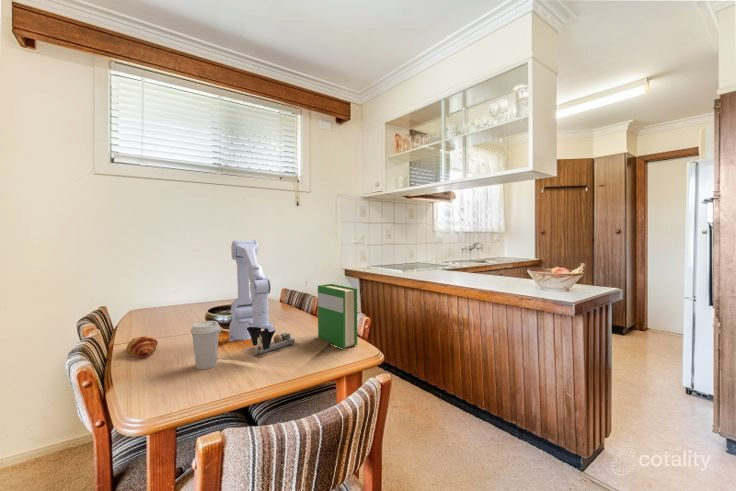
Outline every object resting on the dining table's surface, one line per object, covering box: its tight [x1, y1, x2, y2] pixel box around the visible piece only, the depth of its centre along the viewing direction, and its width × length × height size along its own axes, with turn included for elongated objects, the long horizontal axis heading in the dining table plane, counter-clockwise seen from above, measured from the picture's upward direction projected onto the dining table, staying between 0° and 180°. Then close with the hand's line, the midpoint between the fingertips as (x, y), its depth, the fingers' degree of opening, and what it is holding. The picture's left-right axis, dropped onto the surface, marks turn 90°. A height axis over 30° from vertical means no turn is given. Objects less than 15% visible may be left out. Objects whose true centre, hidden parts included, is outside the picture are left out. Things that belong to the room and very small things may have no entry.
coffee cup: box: [189, 320, 221, 370], centre depth 116 cm, size 10×10×15 cm
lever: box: [256, 335, 296, 354], centre depth 129 cm, size 16×2×6 cm, turn 139°
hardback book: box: [317, 283, 358, 350], centre depth 140 cm, size 18×7×24 cm, turn 43°
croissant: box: [125, 335, 159, 359], centre depth 130 cm, size 21×10×8 cm, turn 43°
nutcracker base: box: [241, 332, 301, 359], centre depth 131 cm, size 20×12×4 cm, turn 141°
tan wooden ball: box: [273, 334, 283, 343], centre depth 136 cm, size 4×4×4 cm
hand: (261, 346), depth 124 cm, fingers open, 6 cm apart
